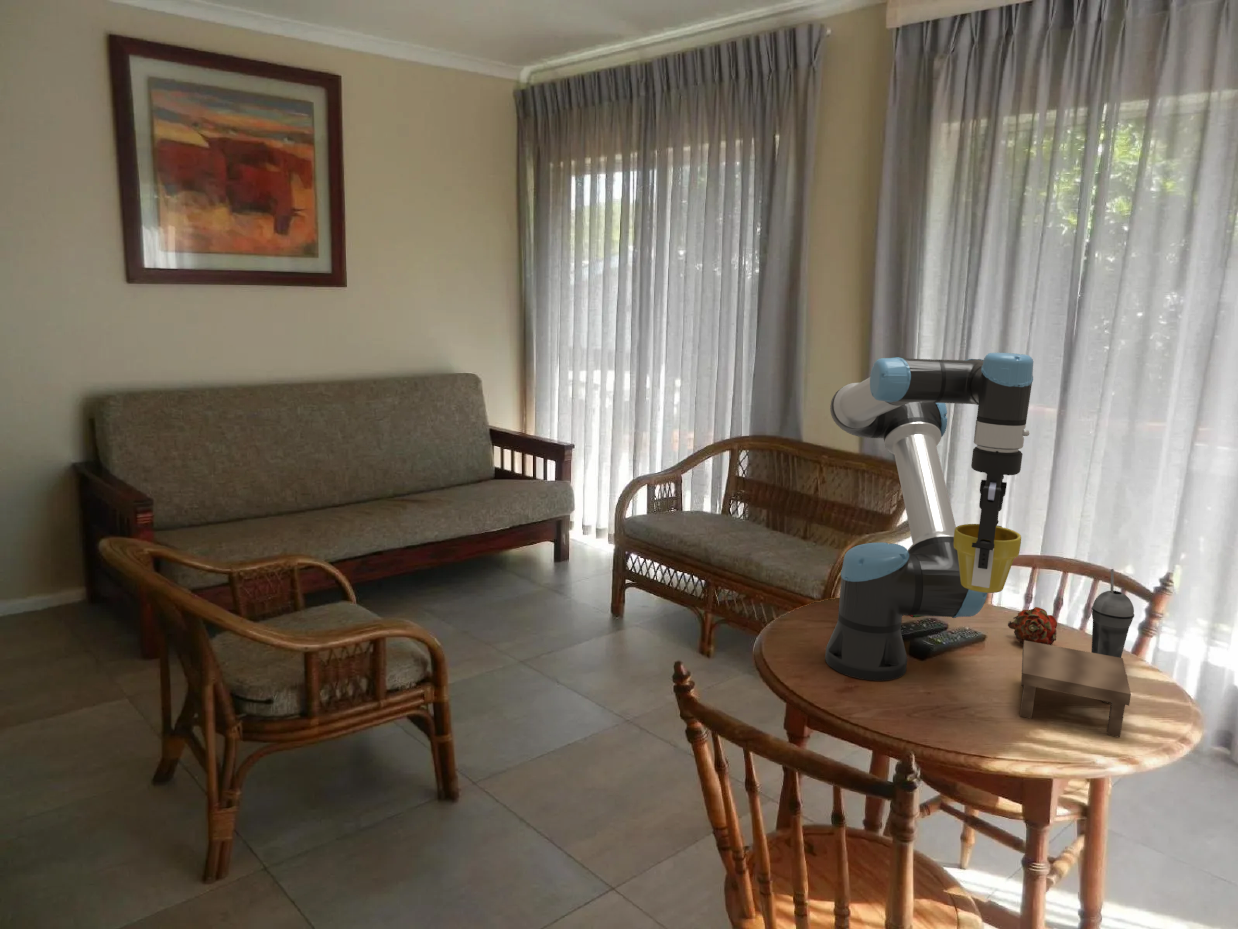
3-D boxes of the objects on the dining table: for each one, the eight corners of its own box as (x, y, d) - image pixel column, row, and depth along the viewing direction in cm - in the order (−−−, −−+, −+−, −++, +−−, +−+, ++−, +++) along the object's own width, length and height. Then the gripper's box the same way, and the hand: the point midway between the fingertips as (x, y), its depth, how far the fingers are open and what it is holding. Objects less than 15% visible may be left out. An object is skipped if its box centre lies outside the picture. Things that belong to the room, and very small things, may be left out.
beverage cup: (1131, 677, 166) (1147, 577, 162) (1090, 673, 168) (1104, 573, 164) (1117, 662, 173) (1133, 565, 169) (1078, 657, 175) (1092, 562, 171)
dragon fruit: (1036, 664, 175) (1019, 648, 187) (1075, 642, 173) (1056, 629, 185) (1012, 627, 175) (997, 614, 187) (1051, 606, 174) (1033, 594, 186)
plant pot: (956, 594, 144) (963, 537, 142) (942, 575, 154) (948, 521, 152) (1022, 599, 142) (1030, 542, 140) (1004, 579, 152) (1011, 525, 151)
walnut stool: (1016, 716, 149) (1022, 673, 148) (1018, 680, 163) (1024, 640, 162) (1123, 739, 142) (1131, 694, 141) (1116, 699, 157) (1122, 658, 155)
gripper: (1021, 462, 132) (1003, 601, 136) (1024, 440, 152) (1008, 562, 156) (968, 456, 135) (952, 592, 139) (977, 436, 155) (963, 555, 159)
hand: (982, 576), depth 148 cm, fingers closed on plant pot, 10 cm apart
